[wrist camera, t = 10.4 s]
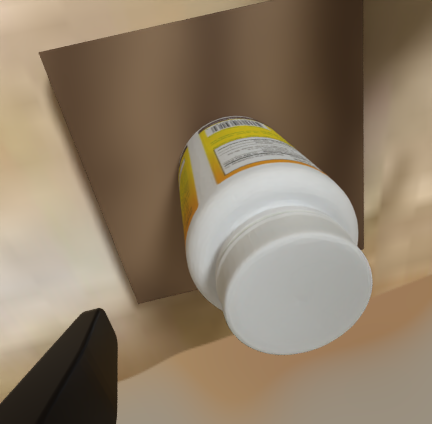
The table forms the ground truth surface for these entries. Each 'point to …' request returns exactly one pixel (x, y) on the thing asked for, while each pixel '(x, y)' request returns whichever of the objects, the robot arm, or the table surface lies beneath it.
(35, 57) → the table surface
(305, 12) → the walnut block
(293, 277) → the supplement bottle
